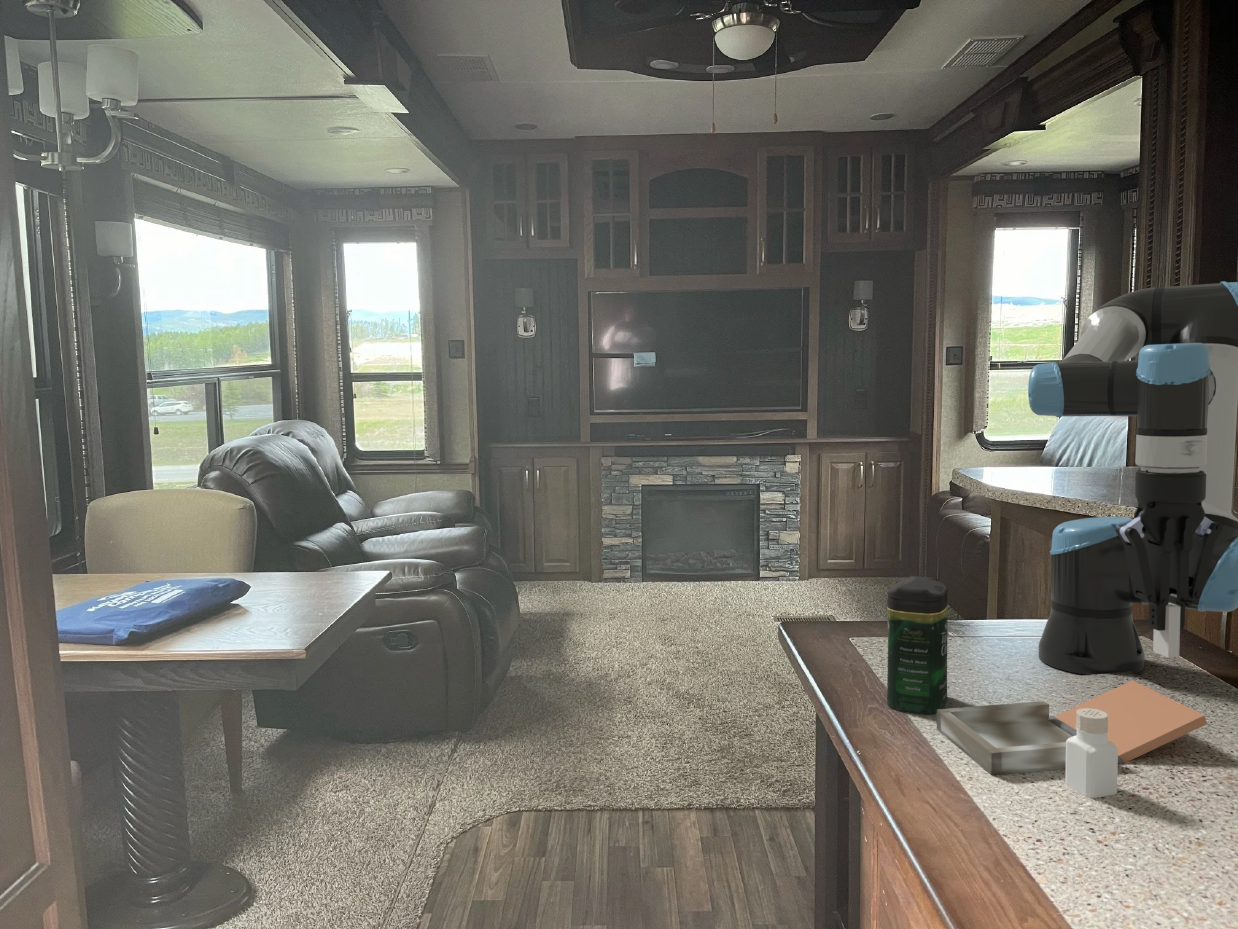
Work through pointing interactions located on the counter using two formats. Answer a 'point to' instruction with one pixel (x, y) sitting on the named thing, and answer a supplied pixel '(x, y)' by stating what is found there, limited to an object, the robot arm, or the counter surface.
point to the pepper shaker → (1091, 756)
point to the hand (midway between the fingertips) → (1166, 654)
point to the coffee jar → (917, 645)
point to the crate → (1006, 737)
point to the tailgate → (1136, 719)
